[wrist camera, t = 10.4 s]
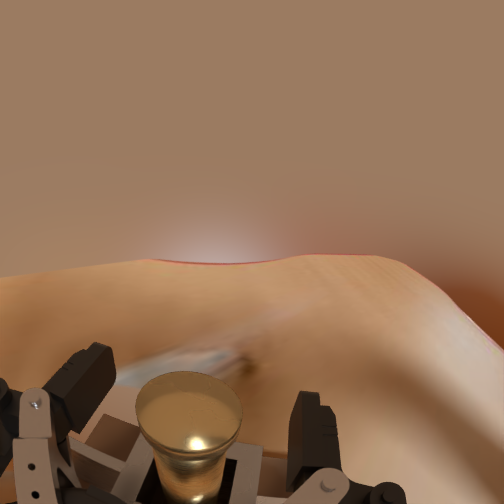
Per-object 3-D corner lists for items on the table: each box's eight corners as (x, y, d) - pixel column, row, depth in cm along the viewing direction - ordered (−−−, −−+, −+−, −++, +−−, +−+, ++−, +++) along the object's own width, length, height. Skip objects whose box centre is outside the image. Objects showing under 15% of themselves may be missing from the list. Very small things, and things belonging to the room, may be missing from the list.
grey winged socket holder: (324, 494, 16) (359, 451, 14) (324, 566, 9) (371, 547, 7) (91, 441, 17) (68, 387, 15) (56, 500, 10) (14, 456, 8)
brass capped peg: (222, 503, 15) (248, 382, 10) (213, 542, 11) (233, 461, 7) (174, 492, 15) (157, 362, 10) (161, 529, 11) (118, 428, 7)
